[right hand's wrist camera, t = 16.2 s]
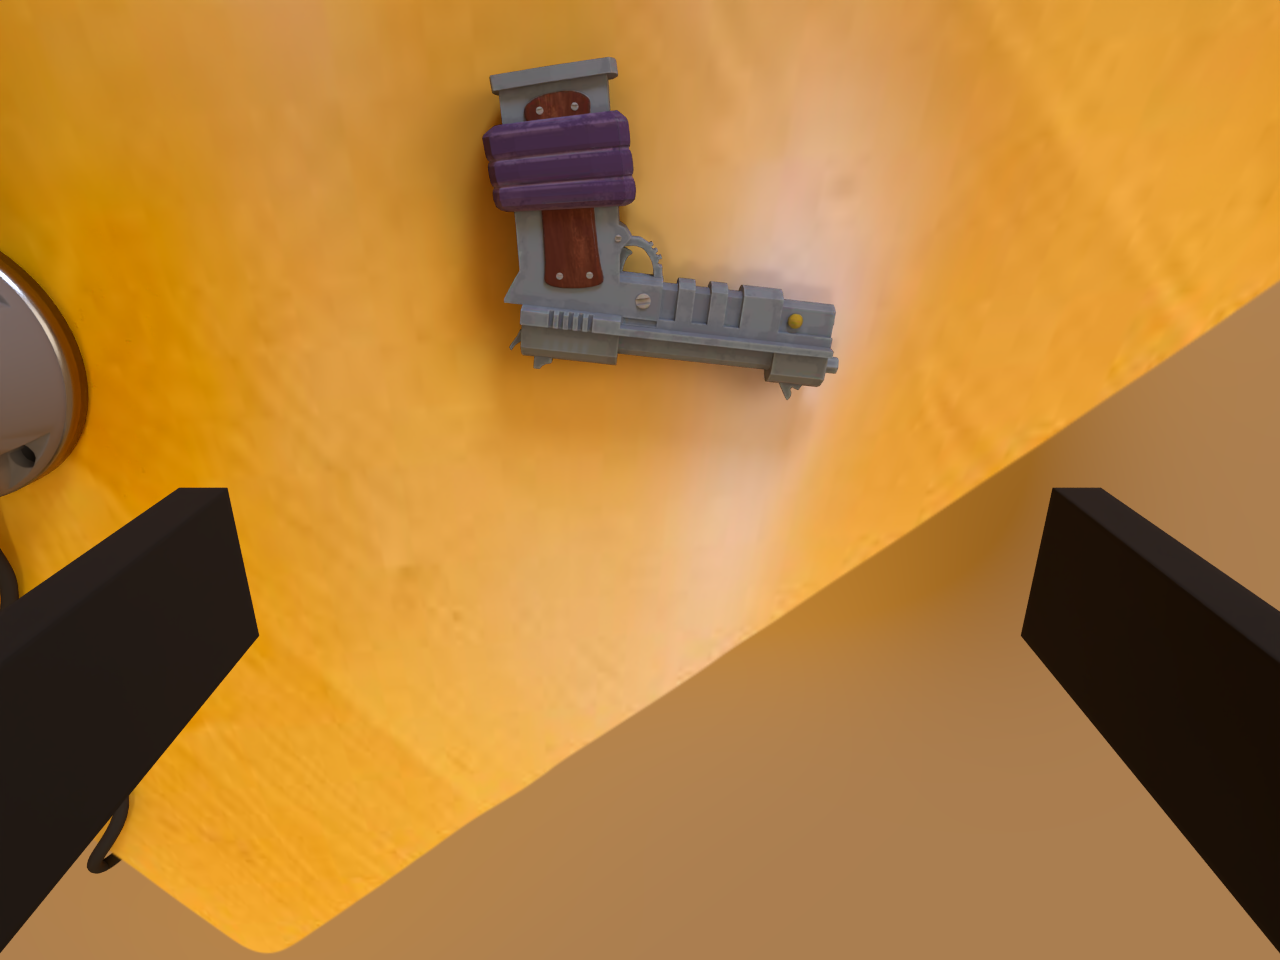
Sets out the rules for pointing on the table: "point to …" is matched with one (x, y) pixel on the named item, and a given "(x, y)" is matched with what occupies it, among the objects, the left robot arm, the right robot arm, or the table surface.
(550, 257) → the toy gun
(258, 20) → the table surface
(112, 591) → the right robot arm
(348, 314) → the table surface
